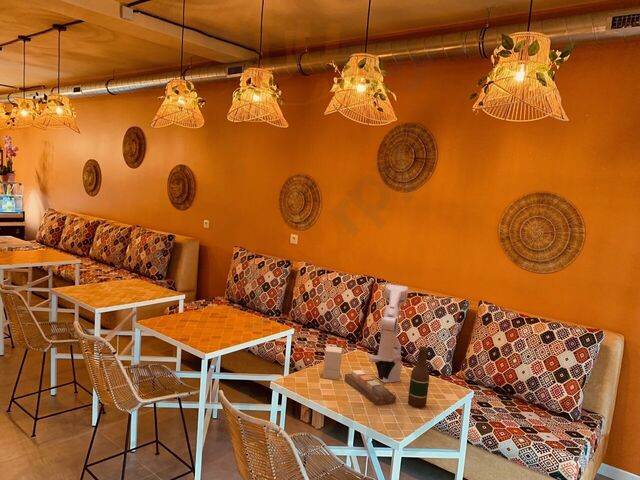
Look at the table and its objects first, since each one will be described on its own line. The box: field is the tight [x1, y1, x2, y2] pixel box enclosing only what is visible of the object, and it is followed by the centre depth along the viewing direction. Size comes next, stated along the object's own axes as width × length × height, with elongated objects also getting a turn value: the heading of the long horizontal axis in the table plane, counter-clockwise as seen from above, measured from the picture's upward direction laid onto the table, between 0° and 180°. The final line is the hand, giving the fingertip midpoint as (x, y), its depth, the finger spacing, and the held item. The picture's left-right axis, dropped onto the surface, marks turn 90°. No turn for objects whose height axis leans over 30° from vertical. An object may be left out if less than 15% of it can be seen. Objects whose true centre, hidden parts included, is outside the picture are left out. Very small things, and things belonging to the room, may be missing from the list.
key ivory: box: [351, 369, 367, 379], centre depth 213 cm, size 4×4×2 cm
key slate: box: [374, 385, 390, 397], centre depth 197 cm, size 4×4×2 cm
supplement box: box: [322, 345, 343, 380], centre depth 218 cm, size 7×7×13 cm
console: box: [344, 372, 397, 407], centre depth 206 cm, size 9×26×3 cm, turn 27°
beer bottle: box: [407, 345, 430, 409], centre depth 196 cm, size 8×8×24 cm
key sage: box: [366, 380, 382, 391], centre depth 203 cm, size 4×4×2 cm
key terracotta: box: [359, 374, 374, 385], centre depth 208 cm, size 4×4×2 cm
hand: (383, 378), depth 197 cm, fingers closed
